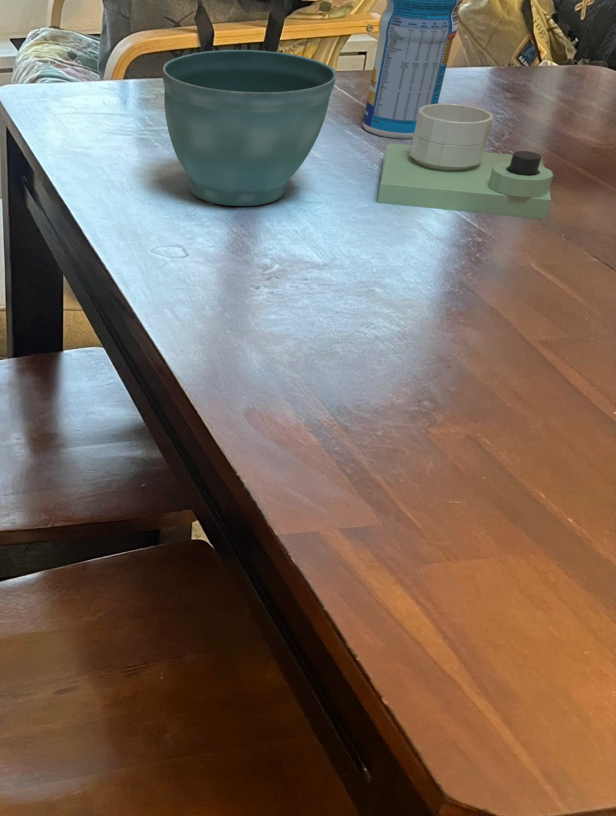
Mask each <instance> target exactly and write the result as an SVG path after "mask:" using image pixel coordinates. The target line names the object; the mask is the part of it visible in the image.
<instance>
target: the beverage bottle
mask: <svg viewBox="0 0 616 816" xmlns="http://www.w3.org/2000/svg"><path fill="white" fill-rule="evenodd" d="M463 1H464V0H386V7H385V9H384V10H383V12H382V13H381V15H380V19H379V22H378V40H377V45H376V51H375V58H374V63H373V68H372V74H371V79H370V84H369V89H368V95H367V100H366V105H365V109H364V112H363V117H362V127H363V129H364V130H365V131H367V132H368V133H370V134H373V135H375V136H379V137H383V138H389V139H395V140H396V139H397V140H412V139H413V134H414V130H415V125H416V121H417V116H418V111H419V108H421V107H423V106H425V105H430V104H439V100H440V96H441V91H442V87H443V83H444V79H445V74H446V70H447V66H448V62H449V58H450V53H451V50H452V44H453V40H454V39H455V38H456V36H457V32H458V30H459V29H458V28H459V22H460V21H459V16H458V9H459V7H460V6H461V5H462V3H463Z"/></svg>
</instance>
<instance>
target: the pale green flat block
mask: <svg viewBox="0 0 616 816" xmlns="http://www.w3.org/2000/svg"><path fill="white" fill-rule="evenodd" d="M410 148H411V144H401V143H390V142H389V143H386V146H385V150H384V155H383V160H382V167H381V173H380V179H379V180H380V181H379V187H378V192H377V201H376V203H378V204H386V205H394V206H395V205H396V206H405V207H406V206H407V207H416V208H427V209H435V210H436V209H437V210H448V211H455V212H456V211H457V212H464V213H465V212H467V213H477V214H486V215H498V216H506V217H517V218H526V219H537V220H546V218H547V216H548V212H549V209H550V206H551V203H552V197H551V196H552V195H551V192H550V187H551V184H552V181H553V178H554V174H553V171H552V170H551V169H549V168H547V167H545V165H544V160H543V156H541V160H540V164H539V167H538V170H537V174H536V175H534V176H524V175H517V174H513V173H510V172H508V170H509V167H510V163H511V160H512V156H513V154H511V153H499V152H489V151H485V152H484V155H483V159H482V162H481V163H479V164H477V165H474V166H473V167H472V168H470V169H466V170H460V171H446V170H437V169H432V168H428V167H425V166H422V165H420V164H418V163H417V162H416V161H415V159H414V158H413V157H411V156H410Z"/></svg>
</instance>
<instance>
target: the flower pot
mask: <svg viewBox="0 0 616 816" xmlns="http://www.w3.org/2000/svg"><path fill="white" fill-rule="evenodd" d="M337 76H338V74H337V71H336V69H335V68H333V67H332V66H330V65H328V64H327V63H325V62H322V61H320V60H317V59H314V58H309V57H306V56H303V55H297V54H292V53H286V52H278V51H270V50H269V51H268V50H255V49H254V50H253V49H221V50H208V51H207V50H206V51H199V52H193V53H190V54H185V55H182V56H178V57H175V58H172V59H171V60H168V61H167V62H165V64H164V65H162V82H163V86H164V97H163V98H164V102H163V104H164V114H165V121H166V127H167V132H168V135H169V138H170V141H171V145H172V148H173V150H174V153H175V155H176V158H177V160H178V161H179V162H178V163H179V164H180V166H181V167H182V169H183V170H184V172H185V174H186V175H187V178H188V187H189V191H190V193H191V194H192V195H193V196H195V197H196V198H198V199H200V200H202V201H205V202H209V203H213V204H216V205H223V206H231V207H250V206H251V207H252V206H253V207H258V206H260V205H266V204H269V203H273V202H275V201H278V200H279V199H281V198H282V197H283V195H284V194H285V191H286V187H287V184H288V182H289V181H290V179H291V178H292V177H293V176H294V175H295V174H296V172H297V171H298V170H299V169H300V167H301V166H302V165H303V163H304V162H305V160H306V159H307V157H308V156H309V155H310V152H311V151H312V149H313V147H314V145H315V143H316V141H317V139H318V137H319V135H320V132H321V130H322V127H323V125H324V122H325V118H326V115H327V111H328V107H329V103H330V98H331V94H332V91H333V89H334V88H335V87H334V86H335V83H336V78H337Z"/></svg>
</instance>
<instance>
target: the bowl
mask: <svg viewBox="0 0 616 816" xmlns="http://www.w3.org/2000/svg"><path fill="white" fill-rule="evenodd" d="M493 120H494V114H493V113H492V112H490V111H489V110H487V109H484V108H481V107H478V106H474V105H467V104H460V103H451V102H450V103H449V102H448V103H447V102H445V103H444V102H443V103H438V104H430V105H425V106H423V107H421V108H419V111H418V116H417V121H416V125H415V130H414V134H413V139H411V144H410V145H411V148H410V156H411V157H413V158H414V159H415V161H416V162H417V163H418V164H420V165H422V166H425V167H428V168H432V169H437V170H446V171H460V170H466V169H470V168H472V167H473V166H474V165H477V164H479V163H481V162H482V159H483V155H484V152H486V148H487V144H488V140H489V136H490V132H491V128H492V124H493V122H494V121H493Z"/></svg>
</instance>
